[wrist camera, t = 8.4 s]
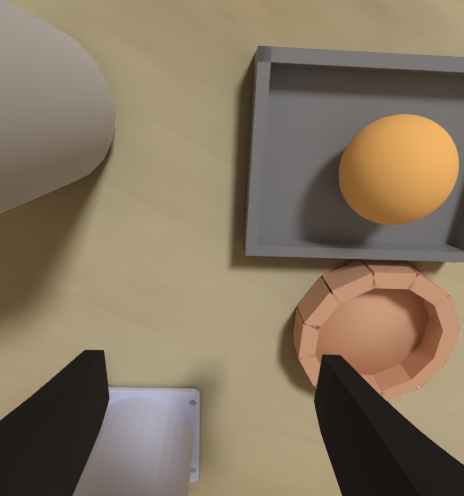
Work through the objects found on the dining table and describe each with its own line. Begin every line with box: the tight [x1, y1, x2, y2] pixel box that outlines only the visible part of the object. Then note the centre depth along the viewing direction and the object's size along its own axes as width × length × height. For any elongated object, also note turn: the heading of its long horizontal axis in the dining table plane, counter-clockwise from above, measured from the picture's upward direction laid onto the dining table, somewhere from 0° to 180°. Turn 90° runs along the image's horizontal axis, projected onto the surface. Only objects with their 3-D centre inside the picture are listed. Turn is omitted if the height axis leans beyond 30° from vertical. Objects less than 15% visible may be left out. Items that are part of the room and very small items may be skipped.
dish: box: [292, 259, 460, 401], centre depth 21 cm, size 10×10×2 cm
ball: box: [339, 114, 459, 225], centre depth 16 cm, size 5×5×5 cm
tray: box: [244, 46, 464, 262], centre depth 18 cm, size 10×13×2 cm
